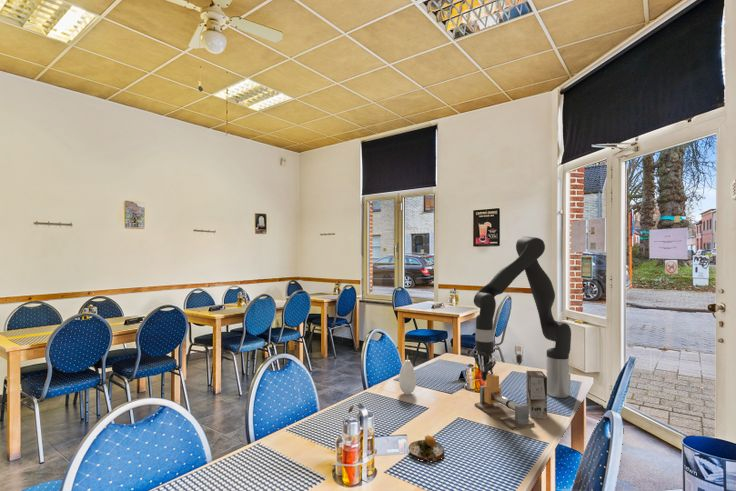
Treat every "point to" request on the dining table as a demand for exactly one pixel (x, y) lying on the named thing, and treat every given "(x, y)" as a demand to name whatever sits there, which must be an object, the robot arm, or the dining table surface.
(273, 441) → the dining table surface
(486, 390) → the collar
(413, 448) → the bowl of food
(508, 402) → the pipe
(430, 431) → the dining table surface
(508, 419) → the base board
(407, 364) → the white teardrop vase
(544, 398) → the coffee box
